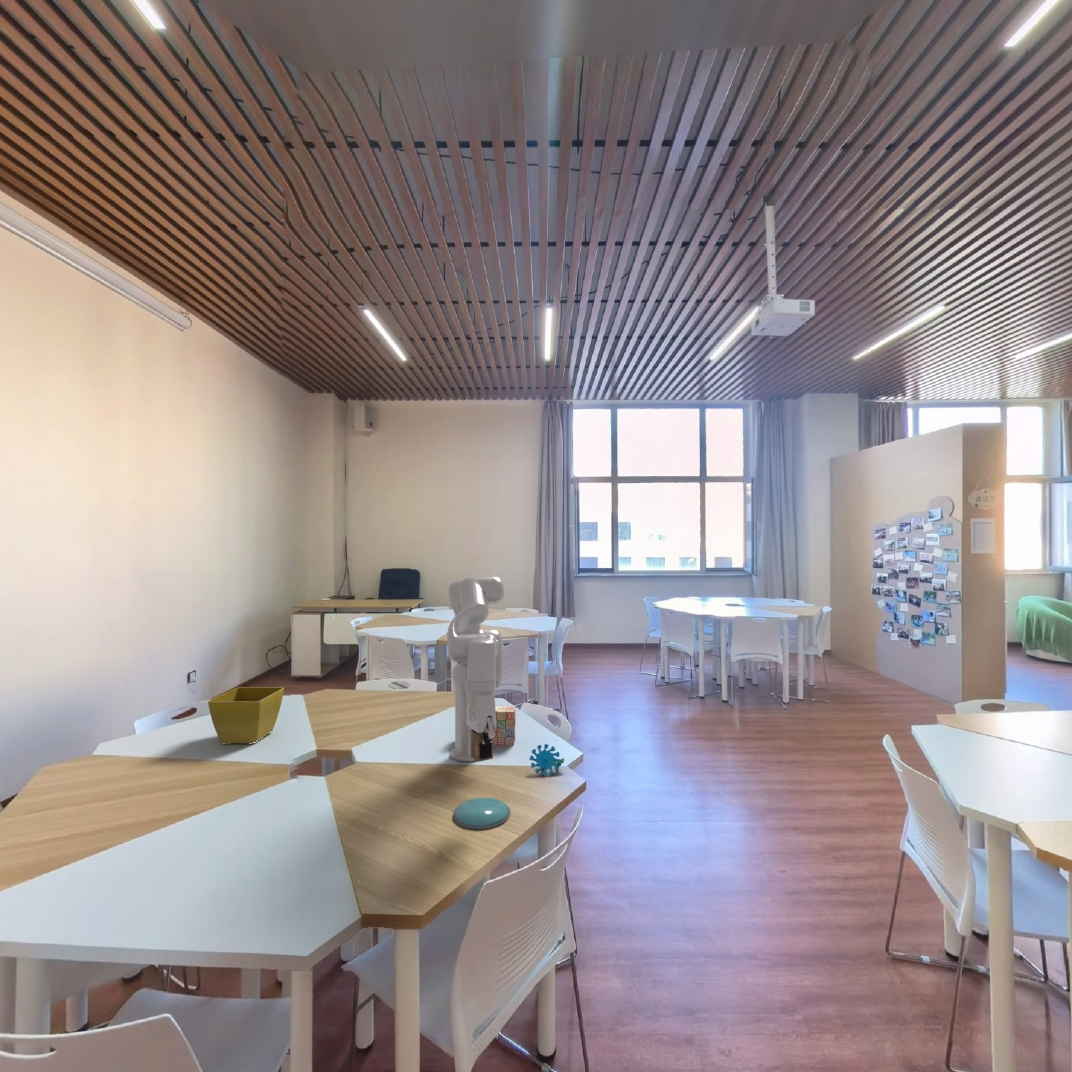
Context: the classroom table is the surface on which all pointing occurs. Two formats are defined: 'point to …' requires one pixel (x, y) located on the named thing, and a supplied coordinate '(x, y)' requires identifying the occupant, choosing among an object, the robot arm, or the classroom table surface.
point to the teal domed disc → (481, 813)
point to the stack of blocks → (504, 726)
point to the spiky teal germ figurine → (546, 760)
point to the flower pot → (245, 713)
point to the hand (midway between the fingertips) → (481, 753)
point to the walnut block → (477, 746)
